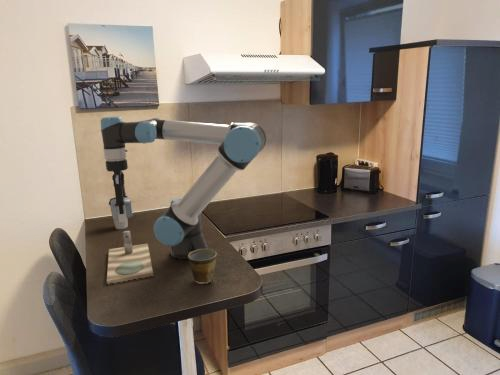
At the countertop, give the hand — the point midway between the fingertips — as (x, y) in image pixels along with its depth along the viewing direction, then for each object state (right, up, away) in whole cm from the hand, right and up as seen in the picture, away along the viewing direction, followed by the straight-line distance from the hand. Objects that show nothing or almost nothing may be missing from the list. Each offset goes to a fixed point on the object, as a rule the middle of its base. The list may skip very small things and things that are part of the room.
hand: (123, 218), depth 147 cm
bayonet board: (+1, -18, +5) cm, 19 cm away
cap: (0, +1, 0) cm, 1 cm away
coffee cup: (-16, -9, +47) cm, 51 cm away
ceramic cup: (+31, -21, -10) cm, 39 cm away
